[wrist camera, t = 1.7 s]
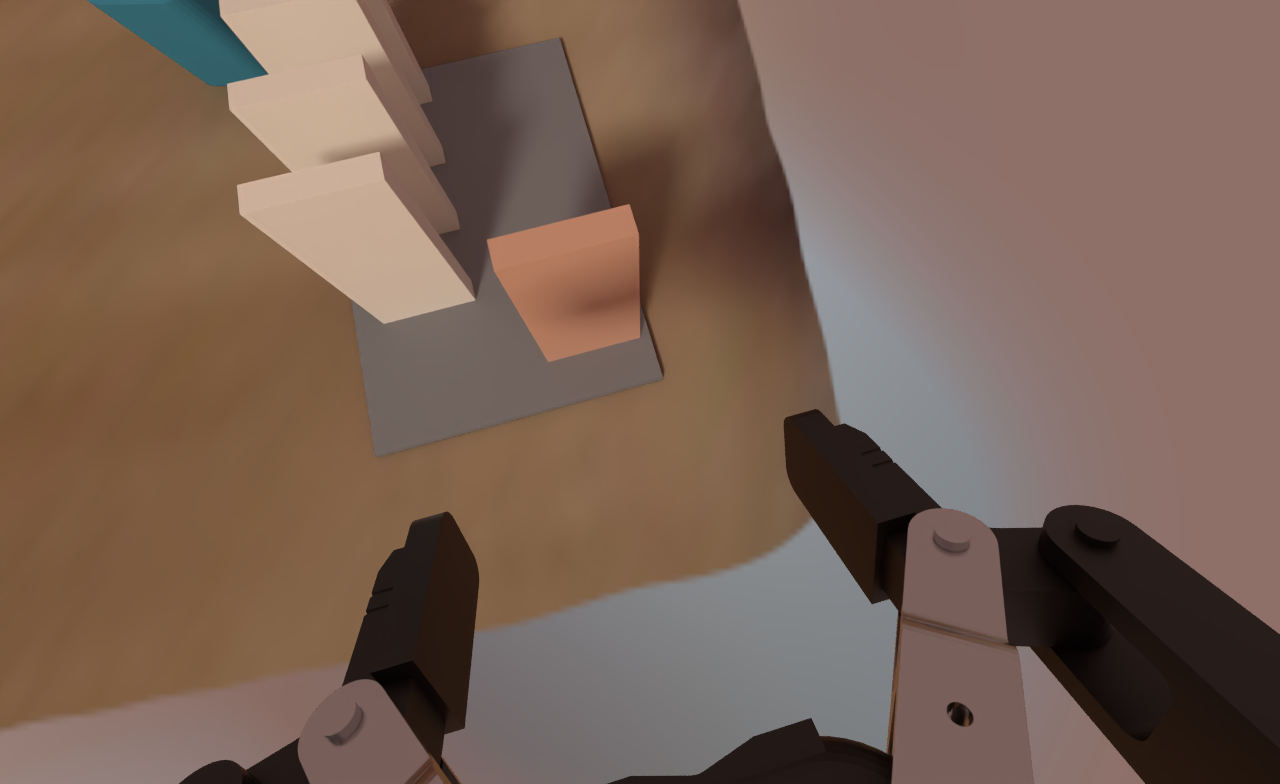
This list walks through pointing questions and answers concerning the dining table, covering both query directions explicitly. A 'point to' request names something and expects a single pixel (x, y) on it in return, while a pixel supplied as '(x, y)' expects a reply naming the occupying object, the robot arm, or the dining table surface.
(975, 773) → the robot arm
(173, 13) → the block
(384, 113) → the domino
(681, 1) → the dining table surface
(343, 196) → the domino
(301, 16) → the domino
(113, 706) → the dining table surface
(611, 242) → the terracotta tile
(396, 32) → the domino
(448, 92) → the mat
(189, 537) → the dining table surface
